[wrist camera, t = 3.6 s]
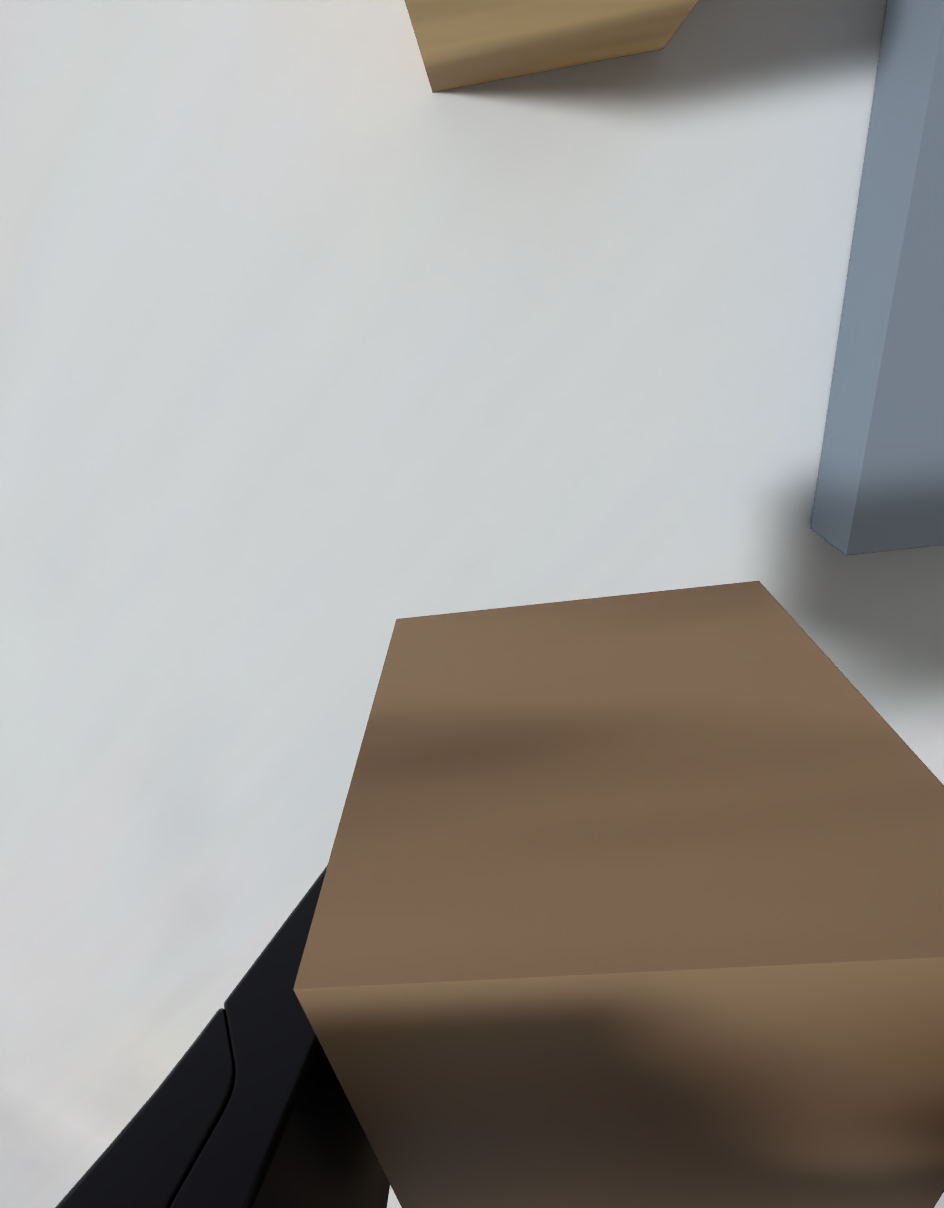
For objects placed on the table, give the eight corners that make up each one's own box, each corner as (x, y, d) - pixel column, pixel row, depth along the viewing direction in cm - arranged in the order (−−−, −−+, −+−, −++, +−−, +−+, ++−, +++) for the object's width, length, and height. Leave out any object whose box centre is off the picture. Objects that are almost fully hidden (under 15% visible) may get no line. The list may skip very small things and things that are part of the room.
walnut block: (731, 834, 10) (910, 1244, 6) (450, 853, 11) (422, 1249, 6) (759, 580, 8) (1092, 950, 4) (397, 618, 8) (293, 989, 4)
